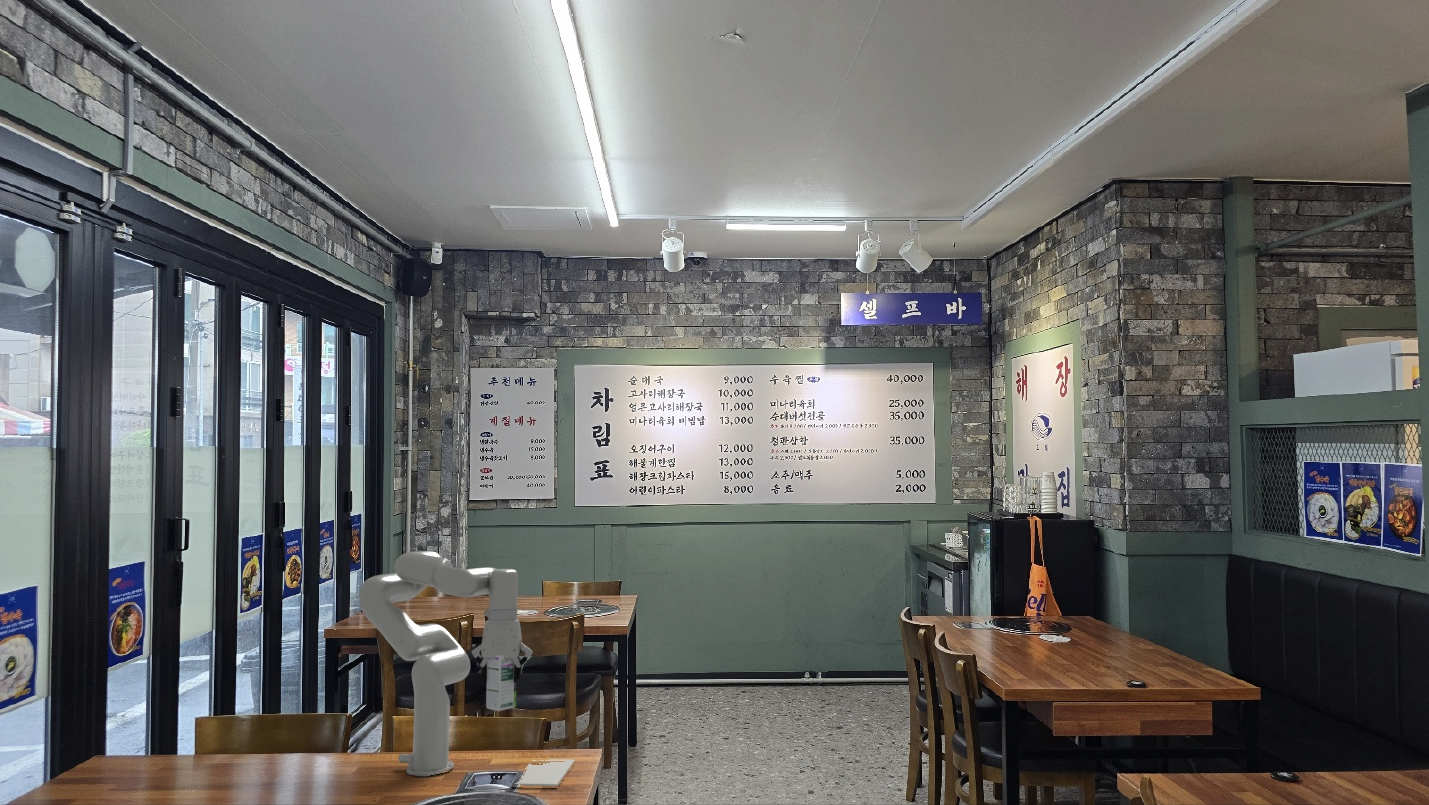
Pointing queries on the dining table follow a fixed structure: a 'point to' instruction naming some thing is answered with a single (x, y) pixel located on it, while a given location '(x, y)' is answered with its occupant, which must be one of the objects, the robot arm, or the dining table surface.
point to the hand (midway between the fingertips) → (501, 681)
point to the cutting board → (546, 773)
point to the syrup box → (500, 684)
